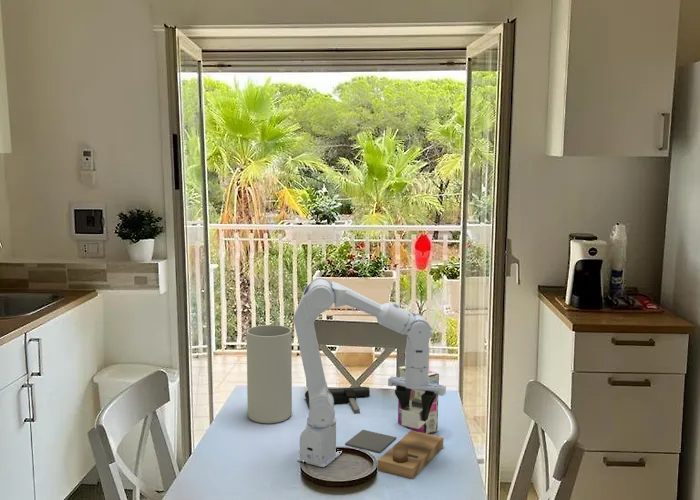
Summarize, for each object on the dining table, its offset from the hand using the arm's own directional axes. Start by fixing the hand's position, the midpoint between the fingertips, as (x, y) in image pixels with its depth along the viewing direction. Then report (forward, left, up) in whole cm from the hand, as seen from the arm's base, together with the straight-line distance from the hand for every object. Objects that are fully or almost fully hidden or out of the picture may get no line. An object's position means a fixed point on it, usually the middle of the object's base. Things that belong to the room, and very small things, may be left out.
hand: (415, 417), depth 168 cm
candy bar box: (+16, +6, -10) cm, 20 cm away
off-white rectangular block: (0, 0, -1) cm, 1 cm away
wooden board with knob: (-2, 0, -10) cm, 10 cm away
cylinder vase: (+3, +46, -10) cm, 47 cm away
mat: (+2, +13, -10) cm, 16 cm away
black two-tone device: (+21, +33, -10) cm, 40 cm away
